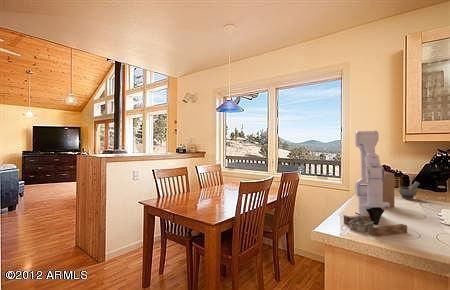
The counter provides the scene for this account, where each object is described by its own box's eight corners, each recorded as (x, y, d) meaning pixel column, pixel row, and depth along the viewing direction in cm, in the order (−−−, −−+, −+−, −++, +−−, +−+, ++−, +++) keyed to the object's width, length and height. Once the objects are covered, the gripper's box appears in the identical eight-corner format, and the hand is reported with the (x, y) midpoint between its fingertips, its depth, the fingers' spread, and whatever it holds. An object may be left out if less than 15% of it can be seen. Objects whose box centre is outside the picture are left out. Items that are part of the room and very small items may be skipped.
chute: (372, 219, 112) (372, 212, 112) (407, 232, 95) (407, 224, 95) (343, 223, 108) (343, 215, 108) (374, 236, 91) (374, 228, 91)
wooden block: (384, 203, 142) (384, 171, 141) (395, 207, 132) (395, 173, 132) (368, 203, 143) (367, 171, 142) (377, 207, 133) (376, 173, 133)
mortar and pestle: (398, 198, 152) (398, 181, 152) (398, 196, 160) (398, 179, 160) (420, 201, 145) (420, 182, 145) (419, 198, 153) (419, 180, 153)
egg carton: (359, 223, 107) (359, 215, 107) (376, 228, 100) (376, 219, 100) (345, 227, 102) (345, 218, 102) (362, 233, 95) (362, 223, 95)
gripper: (369, 196, 96) (369, 229, 96) (396, 194, 99) (396, 225, 100) (355, 193, 103) (356, 223, 103) (381, 191, 106) (381, 220, 106)
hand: (374, 224), depth 102 cm, fingers closed
